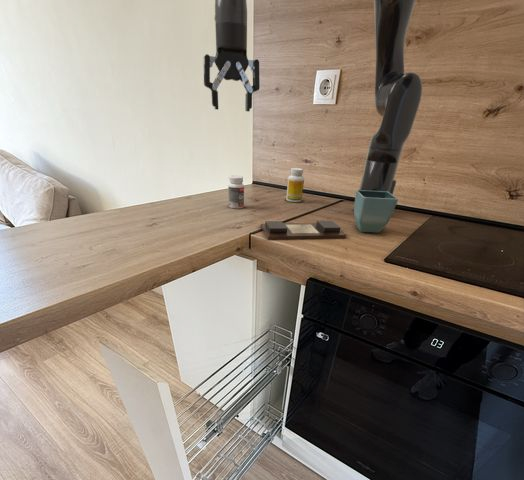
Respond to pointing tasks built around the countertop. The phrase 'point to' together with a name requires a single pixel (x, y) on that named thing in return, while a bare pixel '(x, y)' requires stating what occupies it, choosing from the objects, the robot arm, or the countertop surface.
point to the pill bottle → (236, 192)
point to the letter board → (301, 230)
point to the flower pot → (373, 209)
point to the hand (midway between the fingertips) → (232, 110)
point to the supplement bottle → (295, 185)
